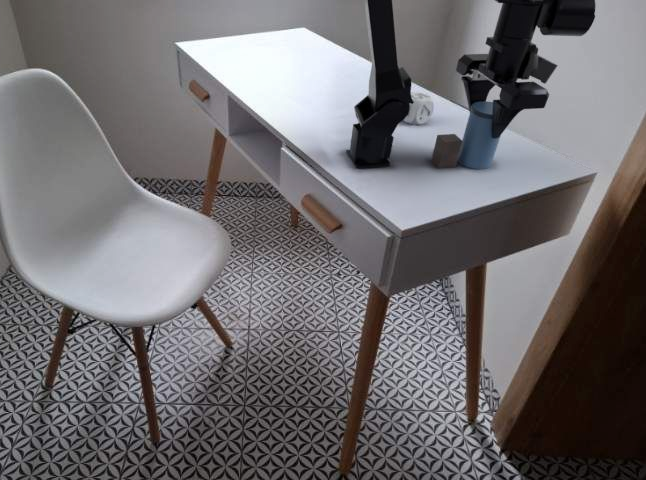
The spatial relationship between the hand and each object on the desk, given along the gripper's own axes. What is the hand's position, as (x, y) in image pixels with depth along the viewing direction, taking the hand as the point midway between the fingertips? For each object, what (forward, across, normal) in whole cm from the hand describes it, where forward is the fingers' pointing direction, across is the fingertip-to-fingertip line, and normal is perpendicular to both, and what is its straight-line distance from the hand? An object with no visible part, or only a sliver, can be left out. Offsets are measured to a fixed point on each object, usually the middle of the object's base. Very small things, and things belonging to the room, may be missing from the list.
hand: (484, 129), depth 90 cm
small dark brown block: (+6, 0, +6) cm, 9 cm away
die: (+6, +19, +3) cm, 21 cm away
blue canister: (+5, 0, +4) cm, 7 cm away
